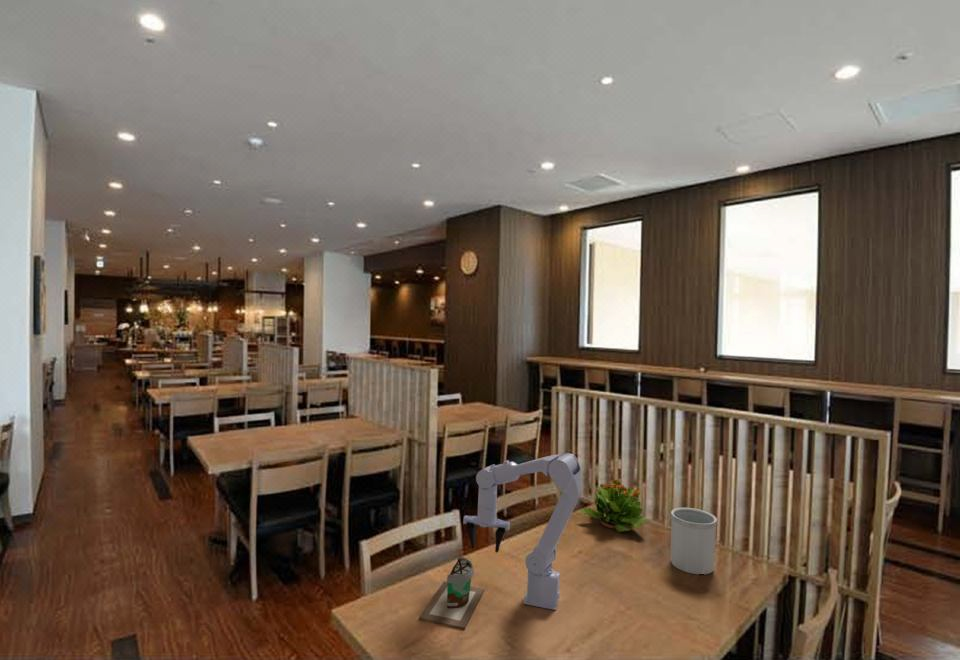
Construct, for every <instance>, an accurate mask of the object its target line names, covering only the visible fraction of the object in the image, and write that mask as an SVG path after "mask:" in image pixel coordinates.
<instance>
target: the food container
mask: <svg viewBox="0 0 960 660" xmlns="http://www.w3.org/2000/svg"><path fill="white" fill-rule="evenodd" d="M474 575H475V571H474V566H473V563H472V562H471V561H470V560H469V559H468V558H465V557H463V556H459V555H458V557H457V561H456V563H455V564H454V566H453V568H452V569H451V571H450V573H449V574H447V577H446V582H447V608H451V609H453V608H460V607H463V606H465V605H466V604H467V603H468V601H469V592H470V586H471V582H472V578H473V577H474Z"/></svg>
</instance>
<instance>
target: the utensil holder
mask: <svg viewBox="0 0 960 660" xmlns="http://www.w3.org/2000/svg"><path fill="white" fill-rule="evenodd" d="M670 517H671V522H670V525H671V526H670V528H671V529H670V530H671V531H670V532H671V533H670V562H671V564H672V566H674V568H677V569H678V570H680V571H682V572H685V573H688V574H693V575H699V574H704V575H709V574H711V573H713V571H714V566H715V555H716V554H715V553H716V539H717V538H716V537H717V535H716V534H717V525H718V519H717V517H716V516H715V515H714V514H712V513H710V512H708V511H705V510H702V509H698V508H693V507H676V508H673V509H672V510H671V512H670Z"/></svg>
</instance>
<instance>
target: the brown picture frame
mask: <svg viewBox="0 0 960 660" xmlns="http://www.w3.org/2000/svg"><path fill="white" fill-rule="evenodd" d="M484 592H485V589H484V588H482V587H481V588H480V587H476V586H471V585H470V592H469V601H468V603H467V604H466V605H465V606H463V607H460V608H453V609H451V608H447V581H443V582H442V583H441V584H440V586H439V588H438V589H437V590H436V592H435V594H434V595H433V596H432V598H431V599H430V601H429V602H428V604H427V605H426V607H425V608H424V610H423V611H422V612H421V614H419V617H418V620H419V621H422V622H426V621H427V623H432V624H437V625H440V626H445V627H449V628H455V629H458V630H459V629H460V630H464V631H465V629H466V628H467V626H468V624H469V622H470V620H471V619H472V616H473V614H474V612H475V610H476V609H477V606H478V604H479V602H480V600H481V598H482V596H483V594H484Z"/></svg>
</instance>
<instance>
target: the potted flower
mask: <svg viewBox="0 0 960 660" xmlns="http://www.w3.org/2000/svg"><path fill="white" fill-rule="evenodd" d="M597 488H598V489H597V491H595V496H594V497H593V500H594V501H593V502H594V505H595V506H596V508H595V507H594V509H593V508H591V507H589V508H585V507H584V508H583V509H581V510H580V512H581V513H583V514H585V515H588V516H590V517H592V518H595V519H597V520H600V523H601V525H603V526H605V527H606V528H609V529H614V530H615V529H616V531H617V532H619V533H622V532H626V531H631V530H632V527H631V526H633V527H634V528H635V529H638V528H639V527H641V526H642V525H644V524H646V523H647V520H646V519H645V518H644V516H645V515H642V513H643V511H644V510H643V509H642V508H641V506H642V503H641V501H638V500H639V495H640V494H641V492H642V491H641V490H638V489H633V488H631V487H629V488H627V487H626V486H625V485H624V484H622V481H621V480H619V479H617V478H613V480H612V483H606V484H603V483H601V484H600V485H599V486H597ZM629 524H630V525H629Z"/></svg>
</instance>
